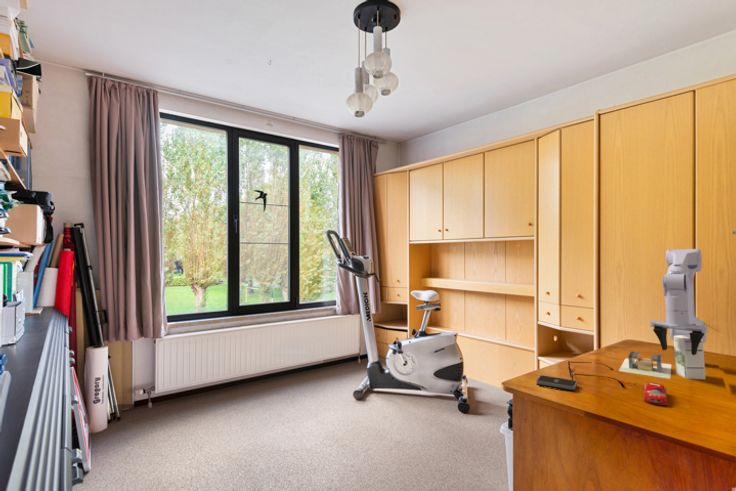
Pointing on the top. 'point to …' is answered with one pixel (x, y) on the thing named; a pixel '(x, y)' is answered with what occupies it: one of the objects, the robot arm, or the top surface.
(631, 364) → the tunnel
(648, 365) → the wooden block
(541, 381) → the external hard drive
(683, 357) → the syrup box
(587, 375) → the eyeglasses
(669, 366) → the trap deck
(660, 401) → the race car
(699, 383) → the top surface
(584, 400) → the top surface
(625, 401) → the top surface
